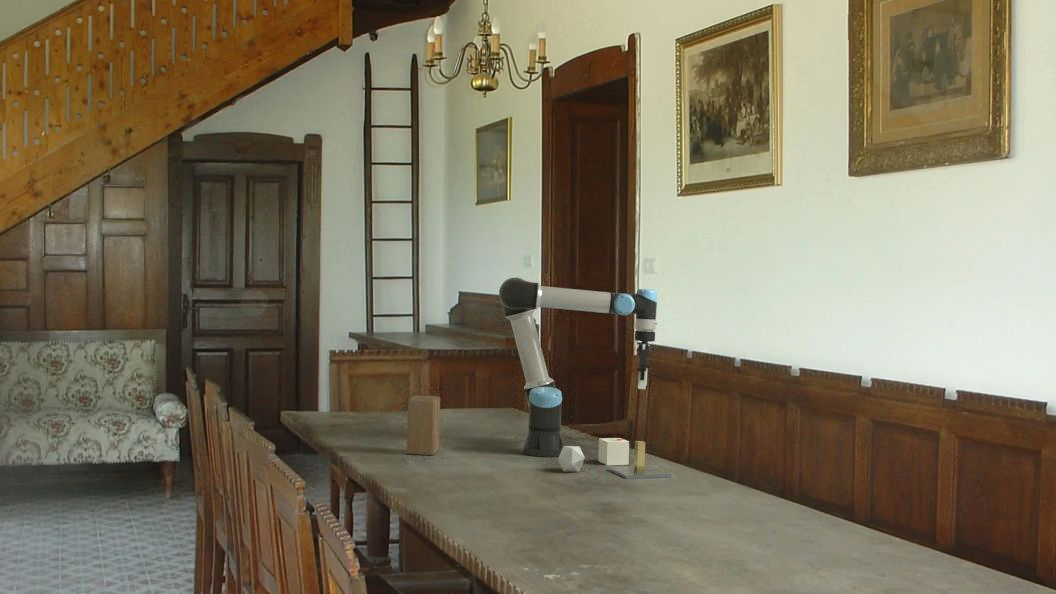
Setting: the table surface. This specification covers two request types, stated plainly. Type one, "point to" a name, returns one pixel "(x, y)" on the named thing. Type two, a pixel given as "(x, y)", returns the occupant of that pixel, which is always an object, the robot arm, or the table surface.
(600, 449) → the cream open box
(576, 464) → the die
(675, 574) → the table surface
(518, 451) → the table surface
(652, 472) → the base plate
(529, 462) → the table surface
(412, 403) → the wooden block
